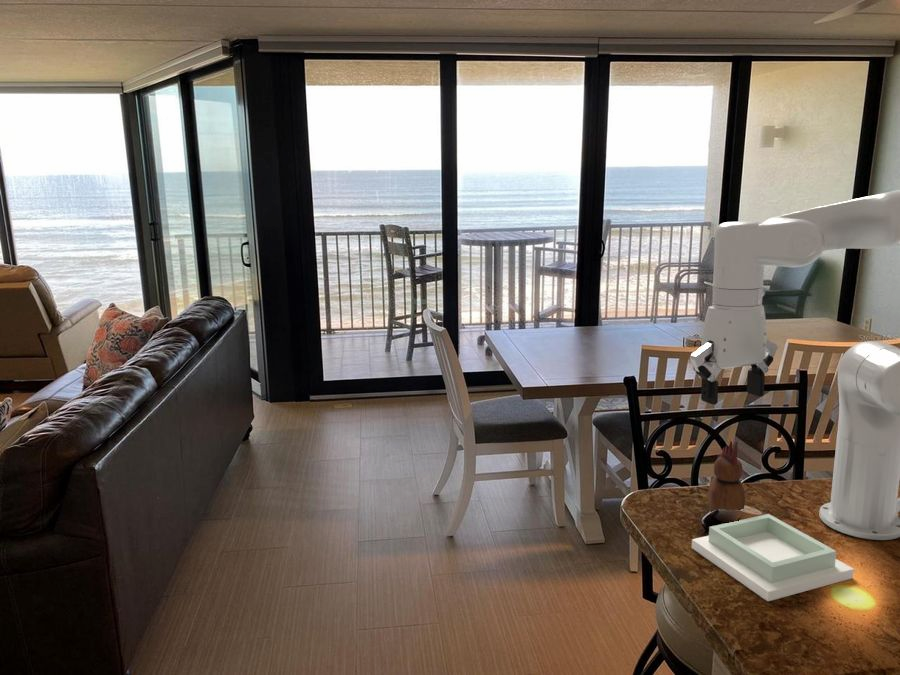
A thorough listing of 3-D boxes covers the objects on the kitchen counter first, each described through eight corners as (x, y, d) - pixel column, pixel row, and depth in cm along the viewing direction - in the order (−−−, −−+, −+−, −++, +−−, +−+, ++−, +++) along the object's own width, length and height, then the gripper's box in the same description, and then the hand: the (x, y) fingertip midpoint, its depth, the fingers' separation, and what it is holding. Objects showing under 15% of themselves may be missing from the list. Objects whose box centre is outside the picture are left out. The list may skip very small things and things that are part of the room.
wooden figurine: (746, 529, 115) (752, 445, 112) (710, 526, 116) (715, 444, 113) (738, 511, 122) (743, 432, 119) (704, 509, 123) (709, 430, 120)
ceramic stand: (769, 529, 115) (771, 508, 114) (853, 578, 100) (855, 553, 99) (691, 547, 109) (692, 525, 109) (767, 601, 95) (769, 575, 94)
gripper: (760, 291, 117) (755, 386, 120) (678, 299, 111) (675, 399, 115) (796, 296, 110) (789, 397, 113) (710, 305, 104) (706, 411, 108)
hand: (732, 398), depth 114 cm, fingers open, 9 cm apart
